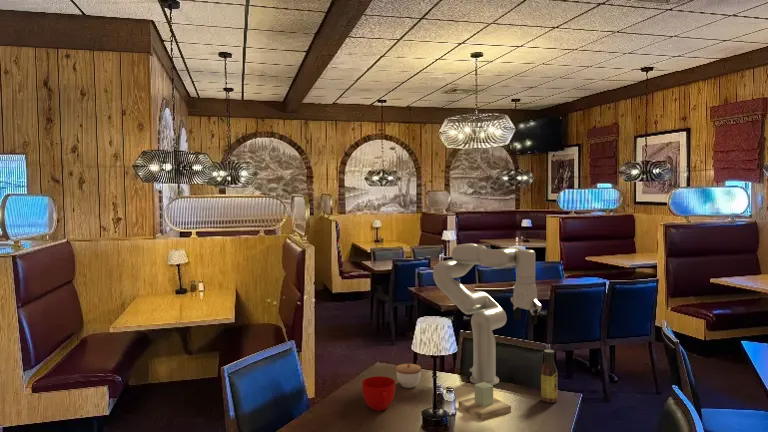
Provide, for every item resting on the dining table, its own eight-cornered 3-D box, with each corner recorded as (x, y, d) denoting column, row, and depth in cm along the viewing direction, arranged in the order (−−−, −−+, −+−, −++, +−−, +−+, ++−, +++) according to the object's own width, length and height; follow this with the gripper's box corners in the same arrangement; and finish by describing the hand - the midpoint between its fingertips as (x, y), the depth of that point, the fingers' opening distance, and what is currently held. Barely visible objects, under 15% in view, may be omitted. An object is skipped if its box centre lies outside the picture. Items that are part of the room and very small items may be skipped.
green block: (474, 402, 212) (474, 384, 211) (484, 399, 214) (484, 381, 214) (483, 406, 207) (483, 388, 207) (493, 403, 210) (493, 385, 209)
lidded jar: (423, 382, 241) (423, 360, 240) (418, 390, 231) (418, 368, 230) (399, 379, 244) (399, 359, 243) (393, 388, 234) (393, 366, 233)
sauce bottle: (558, 403, 215) (558, 353, 214) (541, 402, 216) (541, 353, 215) (556, 397, 222) (556, 349, 221) (540, 396, 223) (540, 348, 222)
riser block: (458, 408, 213) (458, 401, 213) (486, 401, 220) (486, 394, 220) (482, 421, 201) (482, 413, 201) (511, 413, 208) (511, 405, 208)
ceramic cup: (369, 420, 202) (368, 393, 202) (359, 402, 218) (358, 378, 218) (402, 415, 206) (402, 389, 205) (390, 399, 222) (390, 374, 221)
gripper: (504, 277, 229) (504, 318, 230) (533, 284, 214) (533, 327, 215) (518, 276, 233) (518, 316, 234) (548, 282, 217) (547, 325, 218)
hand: (525, 321), depth 224 cm, fingers open, 9 cm apart
